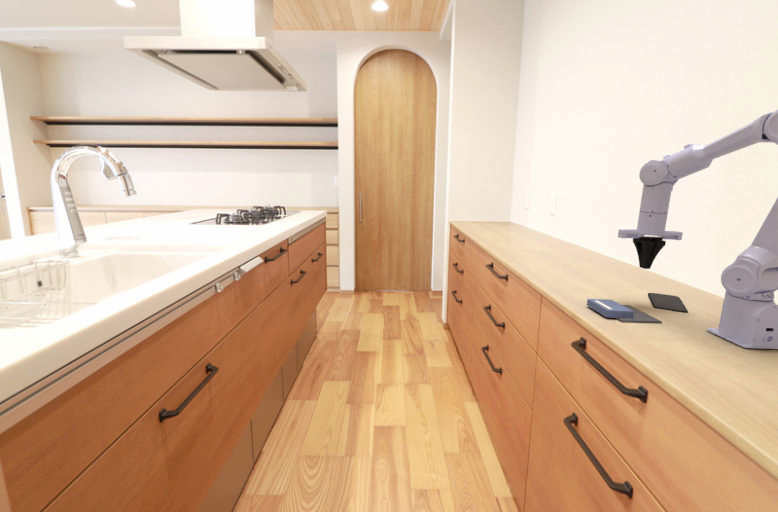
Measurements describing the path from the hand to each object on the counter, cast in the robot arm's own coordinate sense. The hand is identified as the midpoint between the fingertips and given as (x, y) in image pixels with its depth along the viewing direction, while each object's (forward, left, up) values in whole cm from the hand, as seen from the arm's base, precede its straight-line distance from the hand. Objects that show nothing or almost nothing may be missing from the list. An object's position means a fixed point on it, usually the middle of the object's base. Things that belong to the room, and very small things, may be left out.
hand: (644, 268), depth 99 cm
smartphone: (+4, -10, -10) cm, 15 cm away
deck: (-6, +8, -9) cm, 13 cm away
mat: (-6, +7, -10) cm, 14 cm away
